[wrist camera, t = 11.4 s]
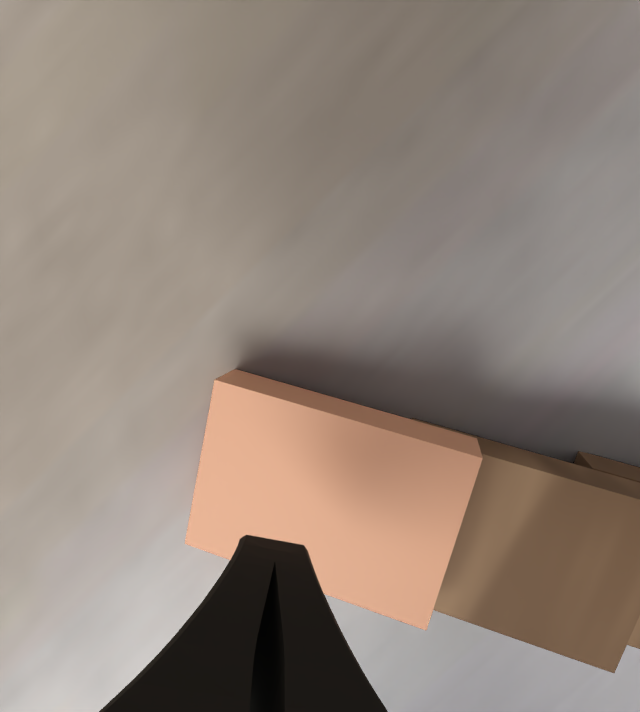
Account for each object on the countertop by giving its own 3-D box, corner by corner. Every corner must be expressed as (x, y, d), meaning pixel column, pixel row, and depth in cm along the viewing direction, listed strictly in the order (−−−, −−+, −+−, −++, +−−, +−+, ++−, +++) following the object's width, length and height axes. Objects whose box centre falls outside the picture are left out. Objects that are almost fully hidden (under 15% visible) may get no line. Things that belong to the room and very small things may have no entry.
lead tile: (235, 369, 14) (476, 438, 13) (206, 518, 15) (426, 595, 14) (214, 379, 13) (482, 458, 11) (184, 543, 14) (426, 630, 12)
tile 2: (411, 417, 14) (659, 488, 13) (371, 559, 16) (596, 635, 14) (410, 432, 13) (685, 513, 12) (366, 586, 14) (614, 673, 13)
